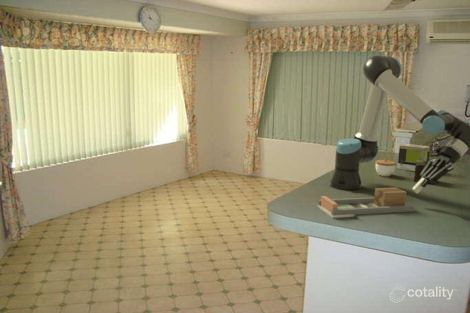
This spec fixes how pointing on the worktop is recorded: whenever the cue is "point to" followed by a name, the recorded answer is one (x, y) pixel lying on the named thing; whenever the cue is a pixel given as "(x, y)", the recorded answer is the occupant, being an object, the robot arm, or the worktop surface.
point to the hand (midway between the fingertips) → (414, 191)
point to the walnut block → (389, 197)
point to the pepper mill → (421, 166)
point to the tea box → (411, 156)
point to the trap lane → (356, 207)
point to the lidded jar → (385, 167)
